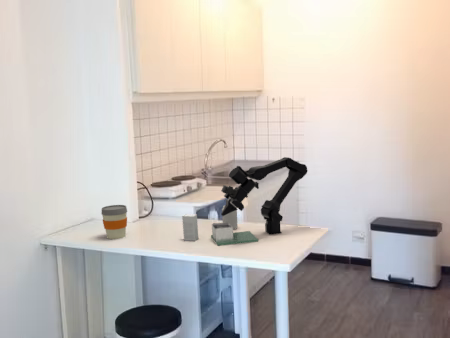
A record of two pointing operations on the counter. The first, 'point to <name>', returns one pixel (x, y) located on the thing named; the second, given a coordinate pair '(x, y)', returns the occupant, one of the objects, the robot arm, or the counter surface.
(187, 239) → the skincare box
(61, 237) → the counter surface
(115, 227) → the reusable coffee cup
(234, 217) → the can
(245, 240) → the board
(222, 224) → the strap
